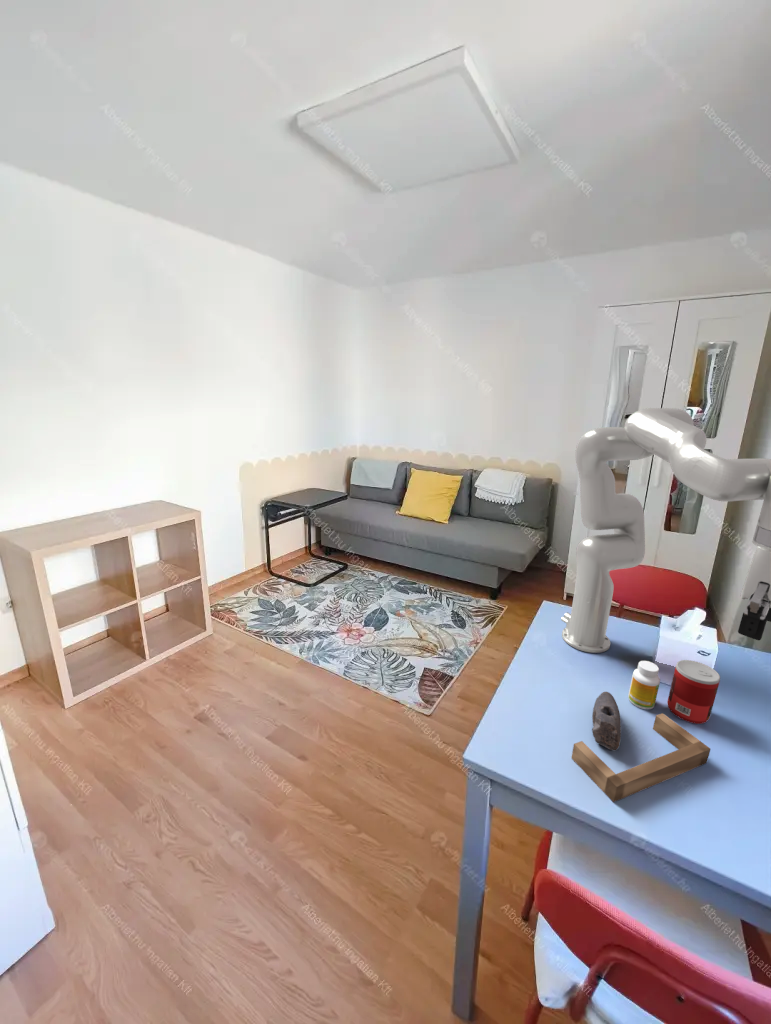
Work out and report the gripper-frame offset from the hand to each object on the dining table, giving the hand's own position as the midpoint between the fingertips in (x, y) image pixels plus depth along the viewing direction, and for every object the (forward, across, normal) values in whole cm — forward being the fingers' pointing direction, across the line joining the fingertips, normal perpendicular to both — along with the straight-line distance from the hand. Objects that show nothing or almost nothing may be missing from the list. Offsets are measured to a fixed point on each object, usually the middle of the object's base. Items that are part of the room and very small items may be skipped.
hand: (756, 627), depth 80 cm
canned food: (+28, -7, -8) cm, 30 cm away
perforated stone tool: (+28, +13, -17) cm, 36 cm away
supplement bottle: (+28, -2, -16) cm, 33 cm away
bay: (+28, +16, -9) cm, 33 cm away
